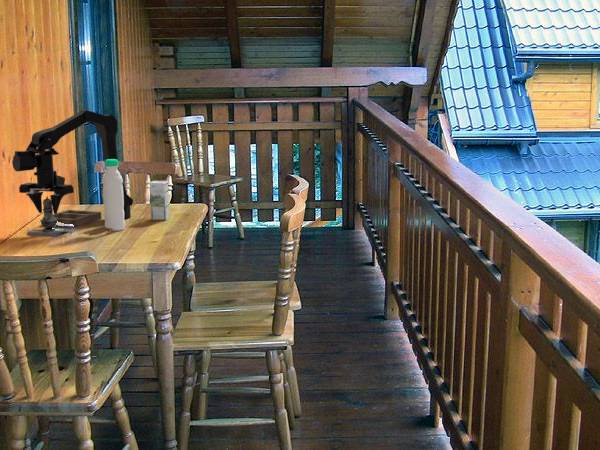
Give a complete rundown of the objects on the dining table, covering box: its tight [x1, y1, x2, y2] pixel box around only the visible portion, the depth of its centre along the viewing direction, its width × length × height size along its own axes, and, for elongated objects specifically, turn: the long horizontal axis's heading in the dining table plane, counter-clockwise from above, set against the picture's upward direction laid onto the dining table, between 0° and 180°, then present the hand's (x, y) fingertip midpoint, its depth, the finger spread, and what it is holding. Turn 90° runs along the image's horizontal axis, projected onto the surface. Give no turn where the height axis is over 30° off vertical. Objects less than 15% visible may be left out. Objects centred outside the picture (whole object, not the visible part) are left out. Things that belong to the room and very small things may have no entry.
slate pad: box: [26, 229, 68, 237], centre depth 290 cm, size 12×8×1 cm
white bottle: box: [101, 158, 126, 232], centre depth 293 cm, size 7×7×25 cm
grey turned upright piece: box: [39, 196, 57, 232], centre depth 289 cm, size 6×6×12 cm
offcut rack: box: [41, 209, 102, 228], centre depth 303 cm, size 14×16×4 cm
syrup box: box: [149, 180, 170, 221], centre depth 312 cm, size 6×6×14 cm
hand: (48, 213), depth 289 cm, fingers open, 6 cm apart
